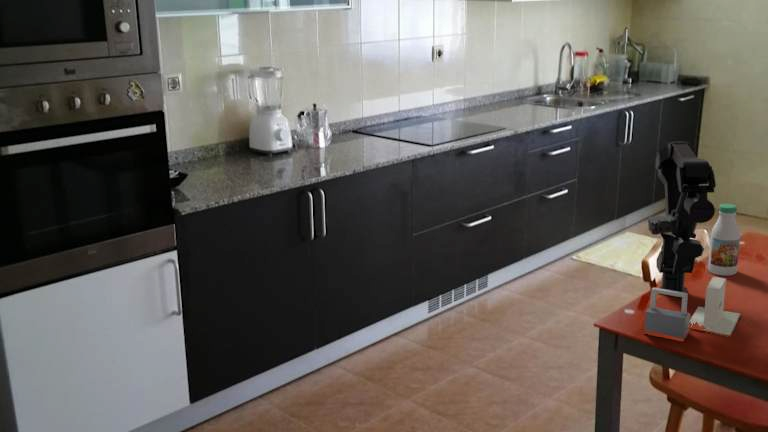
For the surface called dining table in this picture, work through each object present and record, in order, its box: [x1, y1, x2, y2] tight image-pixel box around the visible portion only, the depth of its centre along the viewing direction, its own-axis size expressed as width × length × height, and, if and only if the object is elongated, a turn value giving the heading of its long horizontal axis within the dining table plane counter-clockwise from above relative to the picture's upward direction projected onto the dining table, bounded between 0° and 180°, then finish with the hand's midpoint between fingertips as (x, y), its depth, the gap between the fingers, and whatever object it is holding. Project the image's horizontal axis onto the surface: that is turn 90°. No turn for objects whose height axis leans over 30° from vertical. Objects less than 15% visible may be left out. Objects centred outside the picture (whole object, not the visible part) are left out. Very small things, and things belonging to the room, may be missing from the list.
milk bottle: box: [707, 203, 741, 277], centre depth 227 cm, size 8×8×20 cm
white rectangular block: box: [703, 276, 727, 327], centre depth 194 cm, size 8×3×10 cm, turn 147°
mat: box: [690, 306, 741, 336], centre depth 196 cm, size 14×10×1 cm
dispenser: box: [644, 287, 691, 339], centre depth 189 cm, size 6×9×11 cm, turn 58°
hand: (669, 267), depth 200 cm, fingers open, 9 cm apart
